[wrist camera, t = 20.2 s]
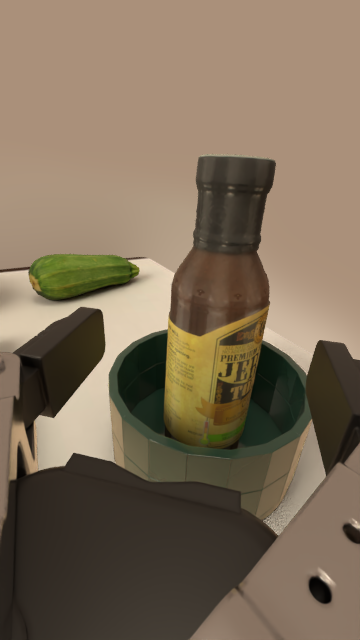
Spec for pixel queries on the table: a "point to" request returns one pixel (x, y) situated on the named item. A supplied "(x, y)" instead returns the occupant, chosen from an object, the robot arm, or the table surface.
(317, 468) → the table surface
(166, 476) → the pot
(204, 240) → the sauce bottle
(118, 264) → the vegetable
